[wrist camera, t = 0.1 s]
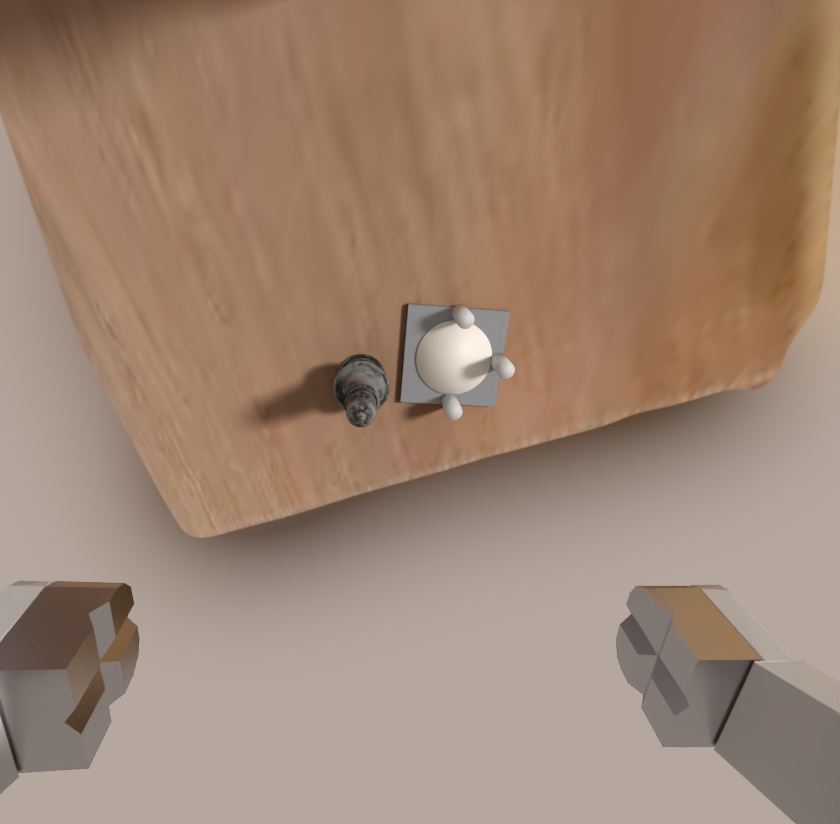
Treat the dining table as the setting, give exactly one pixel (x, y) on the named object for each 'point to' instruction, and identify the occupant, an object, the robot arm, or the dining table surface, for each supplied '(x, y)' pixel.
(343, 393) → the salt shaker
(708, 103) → the dining table surface
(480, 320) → the pin socket board
